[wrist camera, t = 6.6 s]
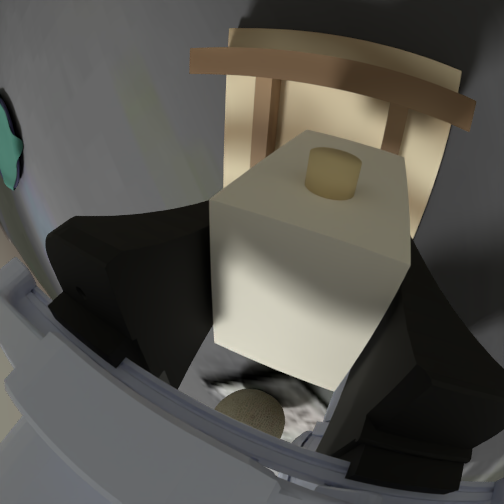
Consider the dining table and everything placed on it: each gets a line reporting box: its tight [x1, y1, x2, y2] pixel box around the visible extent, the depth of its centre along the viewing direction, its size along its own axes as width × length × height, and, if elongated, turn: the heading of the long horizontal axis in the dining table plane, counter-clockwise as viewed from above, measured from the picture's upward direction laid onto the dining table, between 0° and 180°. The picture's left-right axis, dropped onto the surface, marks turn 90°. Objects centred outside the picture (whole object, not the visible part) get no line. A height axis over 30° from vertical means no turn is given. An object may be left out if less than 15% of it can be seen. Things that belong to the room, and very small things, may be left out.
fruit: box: [214, 389, 285, 439], centre depth 35 cm, size 10×12×15 cm
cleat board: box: [190, 28, 476, 239], centre depth 16 cm, size 16×14×5 cm
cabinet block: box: [209, 130, 411, 391], centre depth 9 cm, size 6×4×7 cm
